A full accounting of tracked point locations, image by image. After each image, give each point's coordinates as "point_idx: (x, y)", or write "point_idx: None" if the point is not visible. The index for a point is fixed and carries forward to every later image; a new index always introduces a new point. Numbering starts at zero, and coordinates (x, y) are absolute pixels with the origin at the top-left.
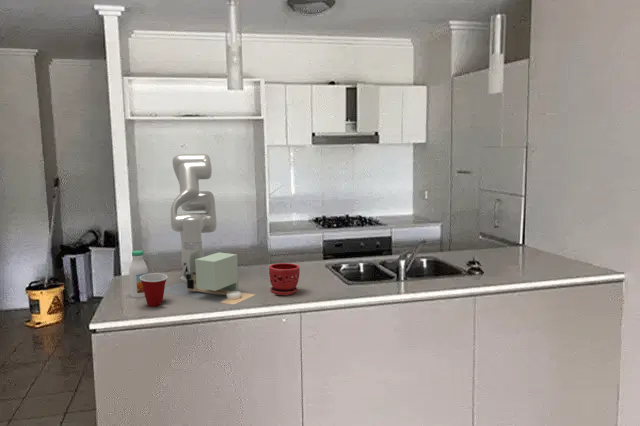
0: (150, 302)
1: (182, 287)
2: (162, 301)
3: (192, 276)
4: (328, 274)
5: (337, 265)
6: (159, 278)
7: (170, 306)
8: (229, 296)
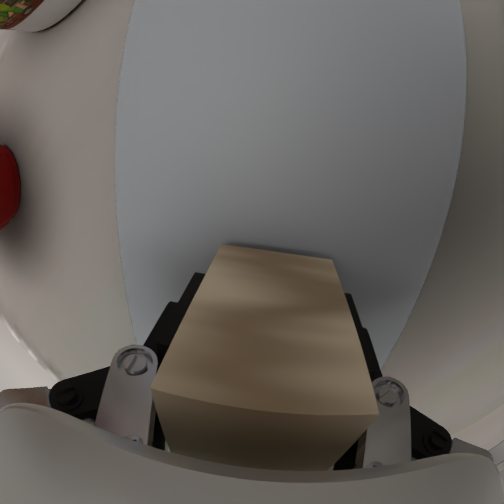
0: None
1: (356, 79)
2: (5, 223)
3: (165, 439)
4: (492, 446)
5: None
6: None
7: (27, 274)
8: None
